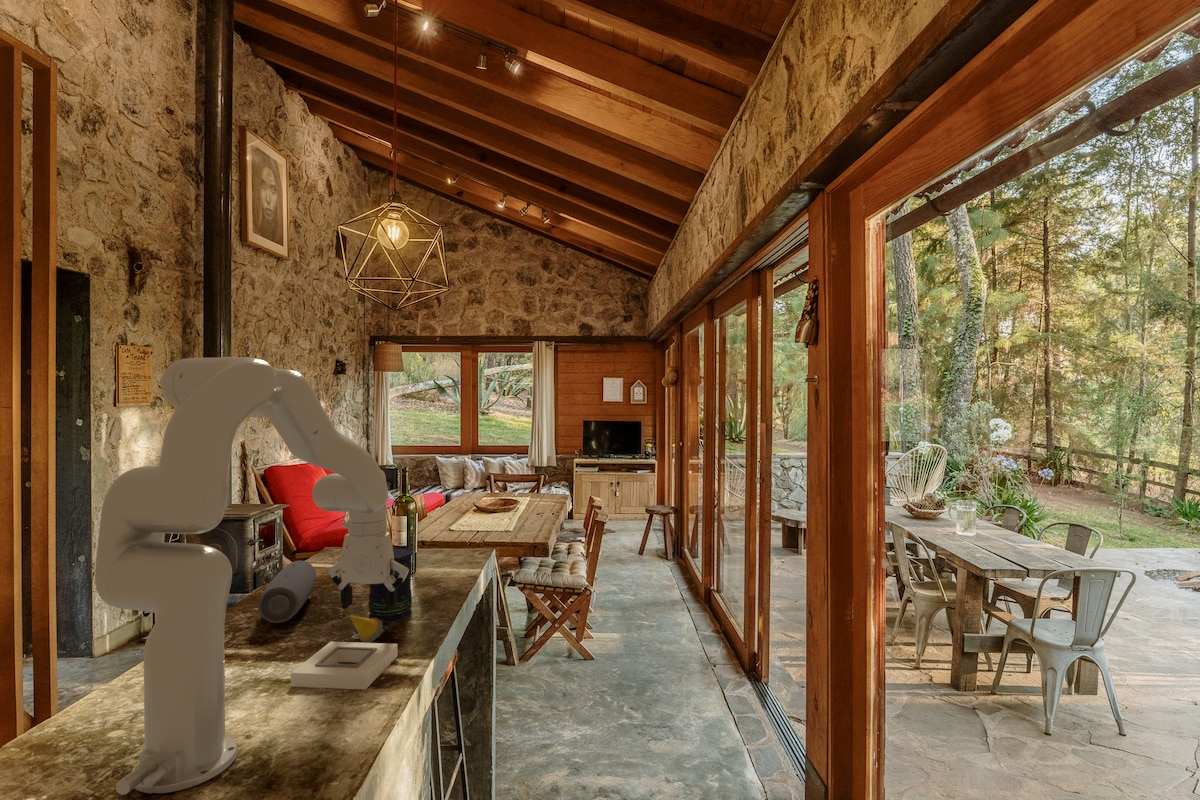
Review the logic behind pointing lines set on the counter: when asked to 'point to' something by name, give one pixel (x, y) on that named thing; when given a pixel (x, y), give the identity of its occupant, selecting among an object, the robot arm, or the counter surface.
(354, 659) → the square frame plate
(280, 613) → the bluetooth speaker
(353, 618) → the yellow ridged cone
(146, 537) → the robot arm
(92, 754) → the counter surface
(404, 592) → the black cylinder
